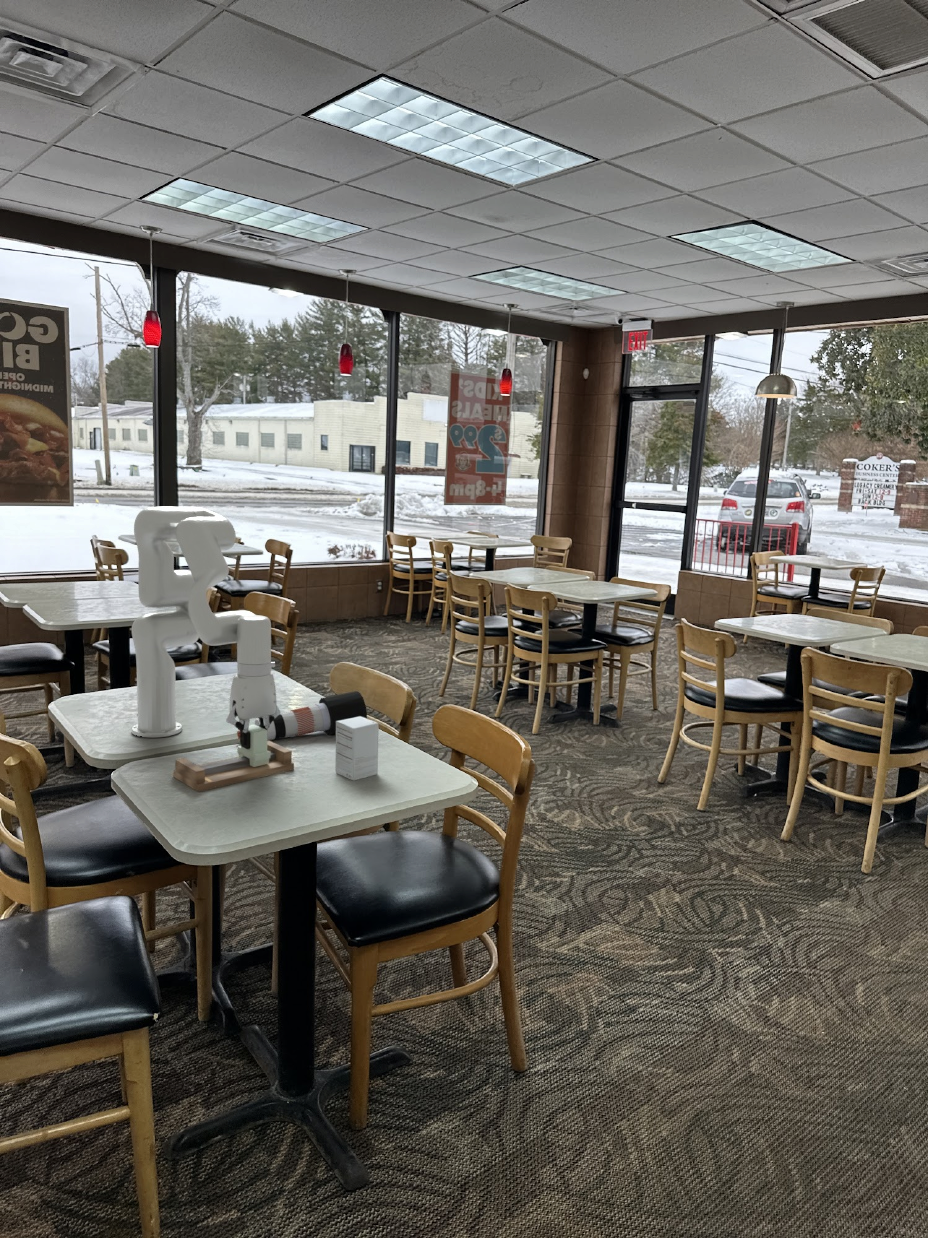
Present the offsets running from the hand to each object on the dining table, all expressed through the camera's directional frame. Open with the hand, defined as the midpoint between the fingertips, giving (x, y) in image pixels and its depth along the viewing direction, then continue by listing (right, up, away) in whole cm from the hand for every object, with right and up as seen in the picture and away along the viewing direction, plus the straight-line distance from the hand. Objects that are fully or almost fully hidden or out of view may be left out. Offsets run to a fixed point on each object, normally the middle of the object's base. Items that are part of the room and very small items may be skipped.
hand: (253, 745), depth 200 cm
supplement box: (+24, -7, +1) cm, 25 cm away
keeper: (0, -4, +1) cm, 4 cm away
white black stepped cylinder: (+6, -2, +28) cm, 29 cm away
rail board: (-4, -6, -2) cm, 8 cm away
